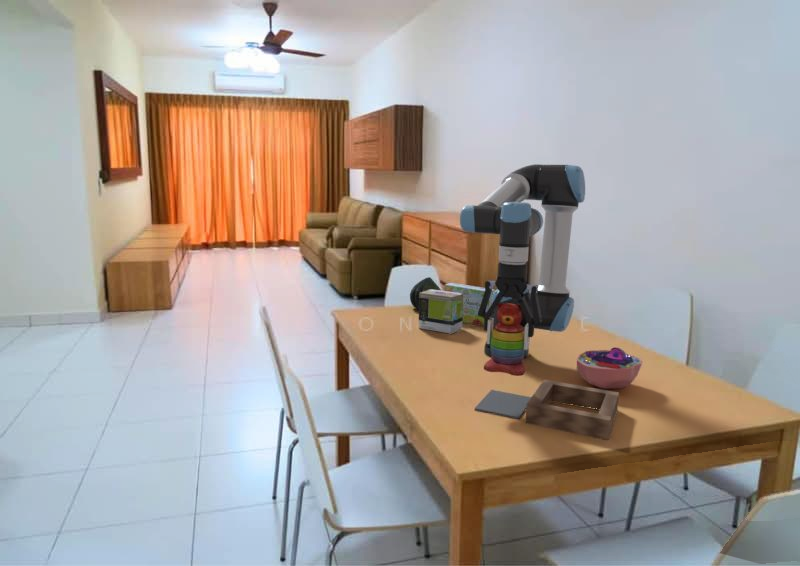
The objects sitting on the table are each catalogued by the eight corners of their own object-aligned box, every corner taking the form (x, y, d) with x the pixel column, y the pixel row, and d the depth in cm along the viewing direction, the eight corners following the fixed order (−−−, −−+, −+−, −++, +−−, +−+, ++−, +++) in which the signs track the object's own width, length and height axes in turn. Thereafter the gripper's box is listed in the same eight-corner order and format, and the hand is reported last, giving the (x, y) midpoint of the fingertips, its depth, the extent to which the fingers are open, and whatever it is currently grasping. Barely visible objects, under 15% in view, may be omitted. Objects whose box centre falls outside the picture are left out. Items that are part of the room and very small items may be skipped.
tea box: (462, 329, 234) (464, 292, 231) (451, 334, 226) (452, 297, 223) (429, 323, 242) (431, 287, 239) (417, 328, 234) (418, 292, 231)
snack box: (442, 318, 249) (443, 284, 246) (449, 316, 254) (450, 282, 251) (487, 327, 237) (489, 291, 234) (494, 324, 242) (496, 288, 239)
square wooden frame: (525, 422, 149) (526, 404, 148) (542, 396, 167) (544, 379, 166) (608, 440, 141) (610, 420, 140) (617, 410, 158) (619, 392, 157)
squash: (413, 302, 254) (434, 275, 256) (399, 296, 267) (419, 271, 269) (434, 321, 259) (455, 295, 262) (420, 315, 273) (439, 289, 275)
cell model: (561, 380, 180) (563, 344, 178) (612, 372, 188) (615, 338, 186) (599, 400, 165) (603, 362, 163) (653, 391, 173) (657, 354, 170)
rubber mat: (474, 409, 156) (474, 408, 156) (491, 391, 170) (491, 389, 169) (518, 419, 151) (519, 417, 151) (532, 399, 164) (532, 397, 164)
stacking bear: (481, 371, 155) (485, 305, 152) (490, 360, 165) (494, 298, 161) (522, 377, 151) (527, 309, 148) (529, 365, 161) (534, 302, 157)
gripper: (467, 260, 154) (463, 342, 158) (552, 268, 145) (546, 355, 149) (476, 256, 161) (472, 336, 165) (558, 264, 151) (552, 348, 156)
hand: (507, 345), depth 157 cm, fingers closed on stacking bear, 9 cm apart
